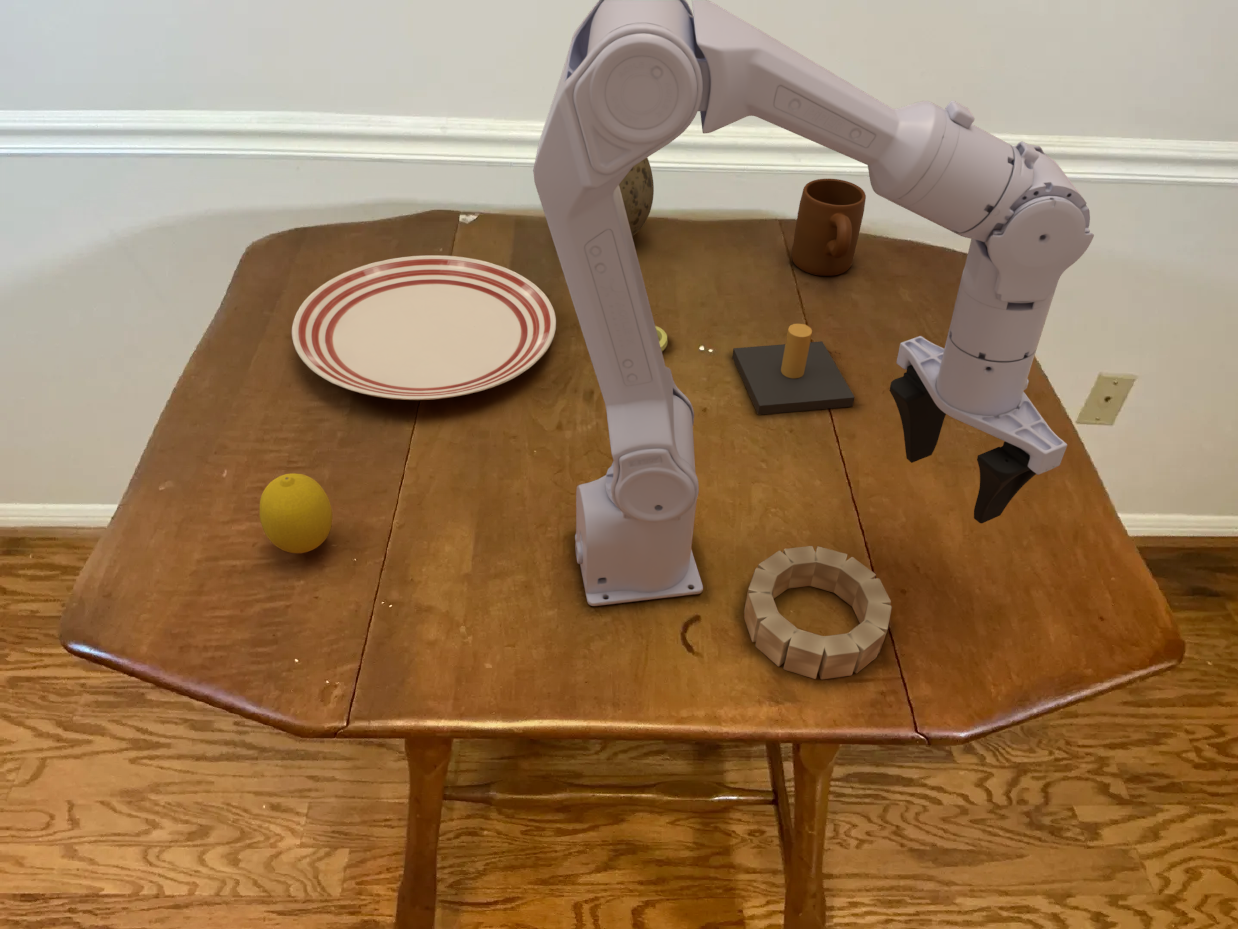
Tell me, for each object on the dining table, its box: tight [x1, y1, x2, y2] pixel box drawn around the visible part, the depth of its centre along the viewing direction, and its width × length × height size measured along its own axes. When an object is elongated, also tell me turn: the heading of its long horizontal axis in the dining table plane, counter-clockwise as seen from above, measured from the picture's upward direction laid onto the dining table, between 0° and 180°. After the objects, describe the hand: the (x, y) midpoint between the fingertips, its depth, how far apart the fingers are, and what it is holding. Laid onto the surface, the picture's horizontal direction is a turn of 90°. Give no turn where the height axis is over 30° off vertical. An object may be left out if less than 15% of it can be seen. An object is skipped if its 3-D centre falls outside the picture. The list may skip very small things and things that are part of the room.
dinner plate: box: [291, 254, 557, 401], centre depth 101 cm, size 28×27×3 cm
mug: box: [791, 178, 867, 277], centre depth 113 cm, size 12×8×9 cm, turn 1°
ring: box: [743, 545, 893, 680], centre depth 74 cm, size 11×11×3 cm
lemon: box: [258, 472, 333, 554], centre depth 77 cm, size 6×6×8 cm
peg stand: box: [731, 323, 856, 416], centre depth 97 cm, size 10×10×6 cm
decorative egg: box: [619, 157, 655, 237], centre depth 115 cm, size 11×11×15 cm
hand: (951, 485), depth 73 cm, fingers open, 7 cm apart
